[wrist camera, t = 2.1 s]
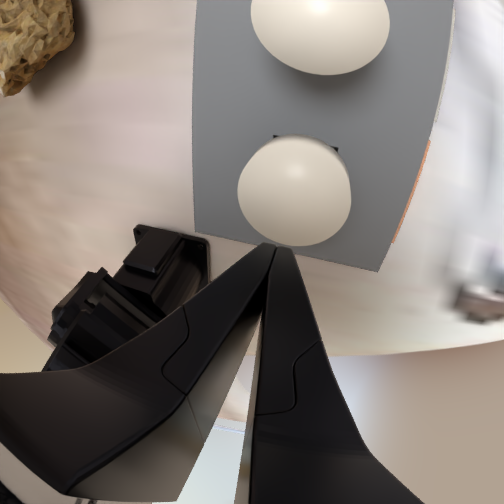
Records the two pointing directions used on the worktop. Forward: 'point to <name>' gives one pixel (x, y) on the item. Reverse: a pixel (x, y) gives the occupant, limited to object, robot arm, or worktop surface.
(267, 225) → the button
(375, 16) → the button middle
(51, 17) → the sponge
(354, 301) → the worktop surface
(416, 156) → the board
